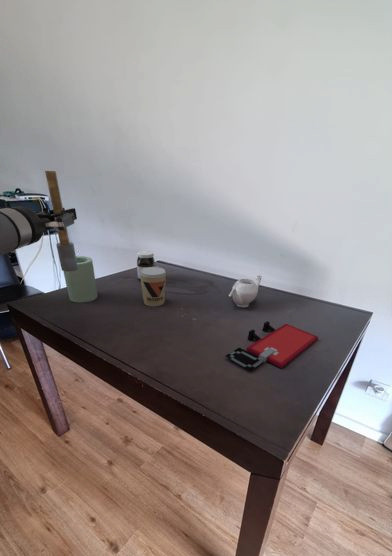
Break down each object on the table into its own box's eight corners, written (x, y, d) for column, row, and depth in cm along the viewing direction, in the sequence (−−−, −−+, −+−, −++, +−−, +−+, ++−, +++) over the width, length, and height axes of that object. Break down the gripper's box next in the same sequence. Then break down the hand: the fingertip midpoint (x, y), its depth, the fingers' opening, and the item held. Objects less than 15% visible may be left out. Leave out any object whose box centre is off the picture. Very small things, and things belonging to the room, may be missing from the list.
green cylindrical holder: (63, 300, 104) (55, 262, 97) (78, 290, 113) (71, 255, 105) (89, 303, 103) (82, 265, 95) (102, 293, 111) (97, 257, 104)
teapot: (216, 308, 104) (218, 284, 99) (246, 294, 117) (250, 272, 112) (238, 316, 99) (241, 291, 94) (267, 301, 112) (271, 278, 107)
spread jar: (139, 275, 132) (137, 249, 125) (163, 276, 132) (163, 250, 126) (136, 284, 122) (134, 256, 115) (162, 285, 122) (162, 257, 116)
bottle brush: (58, 270, 80) (36, 170, 67) (67, 266, 84) (47, 170, 71) (72, 272, 79) (53, 171, 67) (81, 267, 83) (63, 171, 70)
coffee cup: (143, 308, 102) (141, 275, 95) (140, 298, 109) (138, 267, 103) (168, 306, 104) (168, 274, 98) (164, 296, 112) (163, 266, 105)
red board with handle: (219, 355, 77) (266, 382, 69) (220, 347, 76) (268, 373, 68) (275, 323, 96) (317, 340, 88) (276, 315, 95) (319, 333, 87)
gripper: (-13, 244, 61) (46, 226, 81) (55, 249, 60) (98, 229, 80) (-27, 205, 57) (39, 196, 77) (47, 210, 56) (94, 199, 76)
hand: (69, 213), depth 79 cm, fingers closed on bottle brush, 2 cm apart
